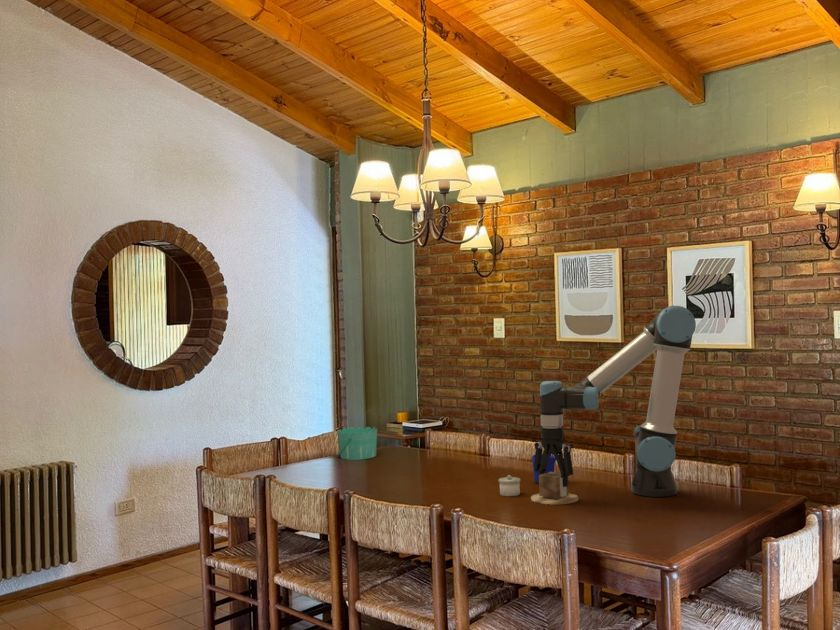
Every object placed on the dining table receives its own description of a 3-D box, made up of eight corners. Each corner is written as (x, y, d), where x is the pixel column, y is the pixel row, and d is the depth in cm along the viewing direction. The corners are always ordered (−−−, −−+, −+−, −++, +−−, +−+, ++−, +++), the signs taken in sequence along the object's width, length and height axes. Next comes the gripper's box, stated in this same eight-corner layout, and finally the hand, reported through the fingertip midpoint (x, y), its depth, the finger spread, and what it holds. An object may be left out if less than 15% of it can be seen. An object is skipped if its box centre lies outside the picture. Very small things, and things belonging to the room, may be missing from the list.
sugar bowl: (525, 493, 263) (524, 474, 263) (511, 497, 258) (511, 478, 258) (508, 490, 268) (507, 472, 269) (494, 494, 263) (494, 475, 263)
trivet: (588, 498, 253) (588, 496, 253) (560, 507, 242) (560, 505, 242) (549, 491, 264) (549, 489, 264) (521, 500, 253) (521, 498, 253)
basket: (361, 461, 337) (360, 433, 337) (329, 458, 347) (329, 431, 347) (385, 454, 353) (384, 427, 353) (355, 452, 363) (354, 425, 363)
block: (568, 495, 253) (568, 474, 253) (556, 498, 248) (555, 477, 248) (551, 492, 258) (551, 471, 258) (539, 495, 253) (538, 475, 253)
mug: (565, 485, 274) (564, 458, 274) (532, 485, 276) (531, 457, 276) (565, 480, 282) (564, 454, 282) (533, 480, 284) (532, 454, 284)
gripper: (583, 427, 249) (585, 496, 248) (535, 423, 263) (537, 488, 263) (570, 430, 244) (572, 500, 243) (521, 425, 258) (523, 492, 258)
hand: (554, 494), depth 253 cm, fingers closed on block, 7 cm apart
